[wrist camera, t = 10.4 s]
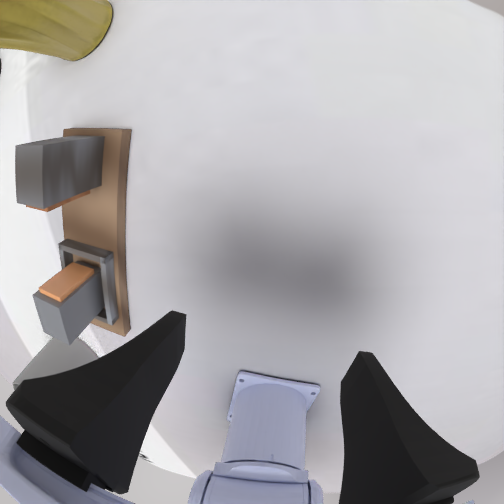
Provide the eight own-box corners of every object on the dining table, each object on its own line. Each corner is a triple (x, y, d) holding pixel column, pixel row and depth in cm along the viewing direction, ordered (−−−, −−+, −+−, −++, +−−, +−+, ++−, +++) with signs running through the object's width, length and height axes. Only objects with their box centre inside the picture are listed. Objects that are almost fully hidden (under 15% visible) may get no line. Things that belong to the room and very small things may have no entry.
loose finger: (107, 303, 22) (69, 345, 17) (82, 294, 22) (44, 331, 17) (103, 264, 20) (57, 303, 15) (77, 256, 20) (31, 290, 15)
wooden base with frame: (130, 329, 24) (93, 380, 18) (83, 310, 25) (43, 353, 18) (131, 129, 17) (60, 136, 10) (73, 128, 17) (5, 138, 11)
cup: (109, 388, 30) (76, 442, 21) (64, 364, 31) (28, 411, 22) (99, 346, 27) (53, 408, 18) (49, 321, 27) (3, 370, 18)
